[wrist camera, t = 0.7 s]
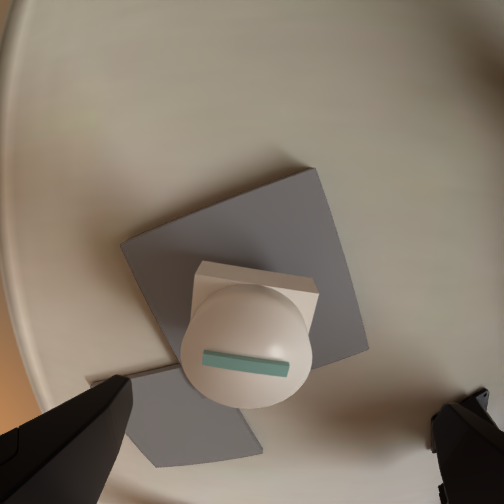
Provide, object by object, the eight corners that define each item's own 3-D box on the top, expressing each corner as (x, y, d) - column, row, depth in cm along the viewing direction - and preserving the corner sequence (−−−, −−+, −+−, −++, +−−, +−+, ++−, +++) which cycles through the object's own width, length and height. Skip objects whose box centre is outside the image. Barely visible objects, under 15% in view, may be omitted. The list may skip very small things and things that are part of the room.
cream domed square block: (312, 278, 16) (328, 317, 12) (289, 367, 18) (295, 418, 14) (202, 260, 16) (183, 294, 12) (192, 352, 18) (176, 401, 14)
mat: (262, 448, 25) (262, 453, 24) (157, 463, 26) (155, 467, 25) (208, 355, 22) (207, 360, 21) (93, 382, 23) (90, 386, 23)
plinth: (363, 337, 21) (387, 386, 16) (204, 386, 23) (192, 439, 17) (311, 167, 18) (331, 170, 13) (128, 238, 20) (88, 266, 14)
